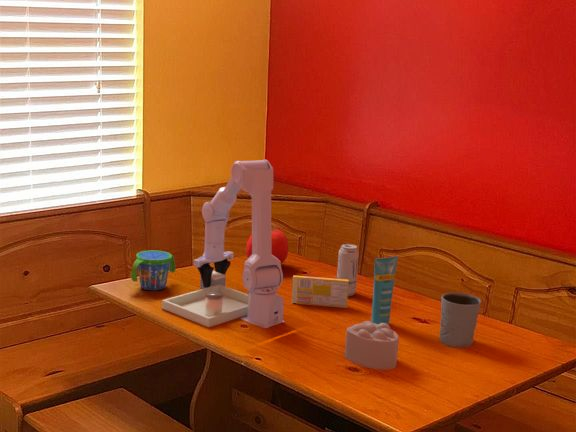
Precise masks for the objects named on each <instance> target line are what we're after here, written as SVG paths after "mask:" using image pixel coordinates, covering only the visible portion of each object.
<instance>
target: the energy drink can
mask: <svg viewBox="0 0 576 432" xmlns="http://www.w3.org/2000/svg"><path fill="white" fill-rule="evenodd" d="M359 255H360V252H359V250H358V246H357V245H356V244H352V243H343V244H341V246H340V248H339V250H338V258H337V273H336V279H346V280H349V285H348V297H351V296H354V295H355V293H356V291H357V281H358V280H357V279H358V270H359V269H358V267H359Z"/></svg>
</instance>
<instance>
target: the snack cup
mask: <svg viewBox="0 0 576 432" xmlns="http://www.w3.org/2000/svg"><path fill="white" fill-rule="evenodd" d="M135 259H136V260H134V262H133V264H132V267H131V273H130V278H131V280H132V281H133V282H138V279H139V283H140V287H141V289H143V290H147V291H156V292H157V291H161V290H163V289H166V286H167V283H168V277H169V272H170V273H175V272H176V268H177V266H176V260H175V258H174V255H173V254H171V253H170V252H167V251H163V250H156V249H155V250H154V249H153V250H152V249H151V250H150V249H149V250H142V251H139V252H137V253H136V254H135ZM138 277H139V278H138Z"/></svg>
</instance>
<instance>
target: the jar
mask: <svg viewBox="0 0 576 432" xmlns="http://www.w3.org/2000/svg"><path fill="white" fill-rule="evenodd" d="M222 305H223V293H222V292H219V291H209V292H206V312H205V316H207V317H211V316H214V315H218V314H221V313H222Z"/></svg>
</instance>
